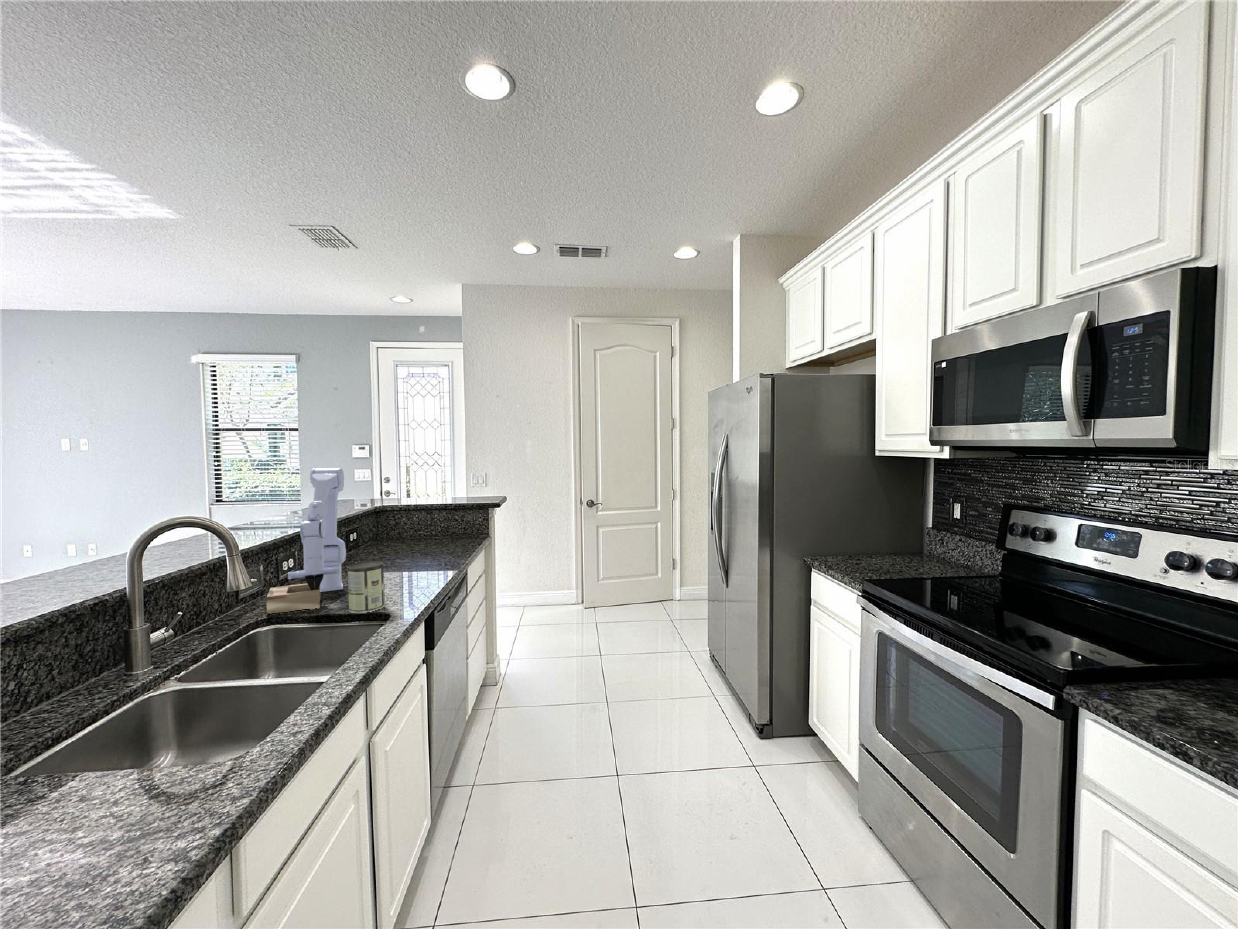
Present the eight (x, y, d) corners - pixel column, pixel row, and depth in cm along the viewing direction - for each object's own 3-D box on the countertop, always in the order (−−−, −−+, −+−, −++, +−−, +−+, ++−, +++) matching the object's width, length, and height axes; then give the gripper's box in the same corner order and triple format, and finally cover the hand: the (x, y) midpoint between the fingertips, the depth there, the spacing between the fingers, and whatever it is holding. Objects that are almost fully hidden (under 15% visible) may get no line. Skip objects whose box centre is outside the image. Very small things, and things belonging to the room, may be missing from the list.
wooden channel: (271, 604, 170) (270, 587, 170) (320, 598, 177) (319, 582, 177) (267, 615, 159) (266, 597, 159) (319, 608, 166) (319, 590, 166)
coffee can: (360, 603, 170) (359, 561, 170) (390, 604, 169) (389, 561, 169) (340, 613, 160) (339, 568, 160) (372, 614, 159) (371, 568, 159)
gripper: (286, 561, 163) (288, 604, 164) (339, 556, 171) (340, 597, 171) (288, 557, 170) (289, 599, 170) (338, 553, 177) (339, 592, 177)
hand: (314, 598), depth 171 cm, fingers closed
